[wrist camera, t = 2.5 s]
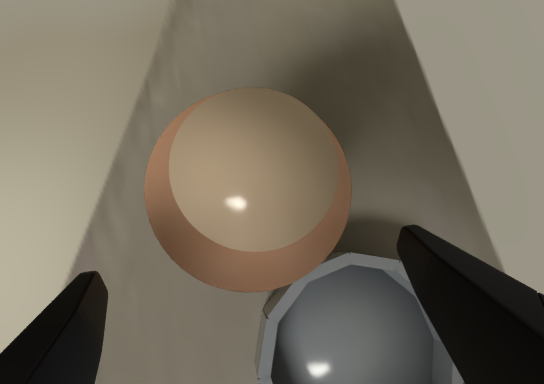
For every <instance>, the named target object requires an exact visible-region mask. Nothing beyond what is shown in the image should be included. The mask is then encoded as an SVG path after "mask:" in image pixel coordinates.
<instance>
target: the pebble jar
mask: <svg viewBox="0 0 544 384" xmlns="http://www.w3.org/2000/svg"><path fill="white" fill-rule="evenodd" d="M351 194H352V187H351V176H350V172H349V167H348V163H347V160H346V158H345V155H344V152H343V150H342V148H341V146H340V144H339V142H338V140H337V139H336V137H335V136H334V134H333V133H332V131H331V130H330V129H329V128H328V127H327V125H326V124H325V123H324V122H323V121H322V120H321V119H320V118H319V117H318V116H317V115H316V114H315V113H314V112H313V111H312V110H311V109H310V108H308V107H307V106H306V105H305V104H303V103H302V102H300V101H299V100H297V99H295V98H294V97H292V96H290V95H288V94H285V93H283V92H280V91H276V90H273V89H269V88H261V87H244V88H236V89H232V90H227V91H225V92H222V93H218V94H215V95H212V96H209V97H207V98H204V99H202V100H200V101H199V102H197V103H195V104H193V105H191V106H190V107H189V108H187V109H186V110H184V111H183V112H182V113H180V114H179V115H178V116H177V117H176V118H175V119H174V120H173V121H172V122H171V123H170V124H169V126H168V127H167V128H166V129H165V130H164V132H163V133H162V135H161V136H160V138H159V139H158V141H157V143H156V145H155V147H154V149H153V151H152V153H151V156H150V160H149V163H148V166H147V171H146V177H145V202H146V209H147V213H148V217H149V221H150V224H151V226H152V229H153V231H154V233H155V235H156V237H157V239H158V241H159V242H160V244H161V246H162V247H163V249H164V250H165V251H166V252H167V254H168V255H169V256H170V257H171V259H172V260H174V261H175V262H176V263H177V264H178V265H179V266H180V267H181V268H182V269H183V270H185V271H186V272H188V273H189V274H190V275H192V276H193V277H195V278H197V279H199V280H201V281H203V282H204V283H207V284H209V285H212V286H215V287H217V288H221V289H225V290H230V291H236V292H263V291H268V290H273V289H277V288H280V287H283V286H286V285H289V284H291V283H293V282H295V281H297V280H299V279H301V278H303V277H304V276H306V275H307V274H309V273H310V272H312V271H313V270H314V269H315V268H316V267H318V266H319V265H320V264H321V263H322V262H323V261H324V260H325V259H326V258H327V256H328V255H329V254H330V253H331V252H332V250H333V249H334V247H335V246H336V244H337V243H338V241H339V239H340V237H341V235H342V233H343V231H344V229H345V226H346V223H347V220H348V217H349V212H350V206H351Z"/></svg>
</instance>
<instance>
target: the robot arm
mask: <svg viewBox="0 0 544 384" xmlns="http://www.w3.org/2000/svg"><path fill="white" fill-rule="evenodd" d="M397 252H398V255H399V257H400V259H401V262H402V264H403V266H404V269H405V271H406V273H407V276H408V278H409V280H410V283H411V285H412V288H413V290H414V292H415V294H416V296H417V298H418V300H419V302H420V304H421V305H422V307H423V309H424V311H425V313H426V314H427V316H428V318H429V320H430V322H431V323H432V325H433V327H434V329H435V331H436V332H437V334H438V336H439V338H440V340H441V341H442V343H443V345H444V347H445V349H446V350H447V352H448V354H449V356H450V358H451V359H452V361H453V363H454V365H455V366H456V368H457V370H458V372H459V374H460V375H461V377H462V379H463V381H464V383H465V384H544V295H543V294H541V293H537V291H536V290H534V289H532V288H530V287H528V286H526V285H525V284H523V283H521V282H519V281H517V280H515V279H514V278H512V277H510V276H508V275H507V274H505V273H503V272H501V271H499V270H497V269H496V268H494V267H492V266H490V265H488V264H487V263H485V262H483V261H481V260H479V259H478V258H476V257H474V256H472V255H470V254H469V253H467V252H465V251H463V250H461V249H459V248H458V247H456V246H454V245H452V244H450V243H449V242H447V241H445V240H443V239H441V238H440V237H438V236H436V235H434V234H432V233H430V232H429V231H427V230H425V229H423V228H421V227H420V226H418V225H408V226H403V227H402V228H401V231H400V235H399V238H398V242H397ZM107 302H108V291H107V288H106V286H105V284H104V282H103V280H102V278H101V276H100V274H99V273H98V272H97V271H89V272H83V273H80V274H79V275H78V276H77V277H76V278H75V279H74V280H73V281H72V282H71V283H70V284H69V285H68V286H67V287H66V288H65V289H64V290H63V291H62V292H61V293H60V294H59V295H58V296H57V297H56V298H55V299H54V300H53V301H52V302H51V303H50V304H49V305H48V306H47V307H46V308H45V309H44V310H43V311H42V312H41V313H40V314H39V315H38V316H37V317H36V318H35V319H34V320H33V321H32V322H31V323H30V324H29V325H28V326H27V327H26V328H25V329H24V330H23V331H22V332H21V333H20V335H18V336H17V337H16V338H15V339H14V340H13V341H12V342H11V343H10V345H8V346H7V347H6V349H4V350H3V352H2V353H0V384H95V379H96V375H97V371H98V366H99V362H100V357H101V352H102V346H103V338H104V329H105V320H106V311H107Z"/></svg>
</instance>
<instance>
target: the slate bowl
mask: <svg viewBox="0 0 544 384" xmlns="http://www.w3.org/2000/svg"><path fill="white" fill-rule="evenodd" d="M263 309H264V310H262V316H261V323H260V330H259V336H258V343H257V349H256V356H255V366H256V372H257V378H258V382H259V384H463V379H462V377H461V375H460V374H459V372H458V370H457V368H456V366H455V365H454V363H453V361H452V359H451V358H450V356H449V354H448V352H447V350H446V349H445V347H444V345H443V343H442V341H441V340H440V338H439V336H438V334H437V332H436V331H435V329H434V327H433V325H432V323H431V322H430V320H429V318H428V316H427V314H426V313H425V311H424V309H423V307H422V305H421V304H420V302H419V300H418V298H417V296H416V294H415V292H414V290H413V288H412V285H411V283H410V280H409V278H408V276H407V273H406V271H405V269H404V266H403V264H402V262H401V261H399V260H395V259H389V258H382V257H376V256H370V255H364V254H357V253H351V252H334V253H331V254H329V255H328V256H327V258H326V259H325V260H324V261H323V262H322V263H321V264H320V265H319V266H318V267H316V268H315V269H314V270H313V271H312V272H310V273H309V274H307V275H306V276H304V277H303V278H301V279H299V280H297V281H295V282H293V283H291V284H289V285H286V286H283V287H280V288H278V289H277V291H276V292H275V293H274V295H273V296H272V297H271V299H270V300H269V301H268V302H267V304H266V305H265V306H264V308H263Z"/></svg>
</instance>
